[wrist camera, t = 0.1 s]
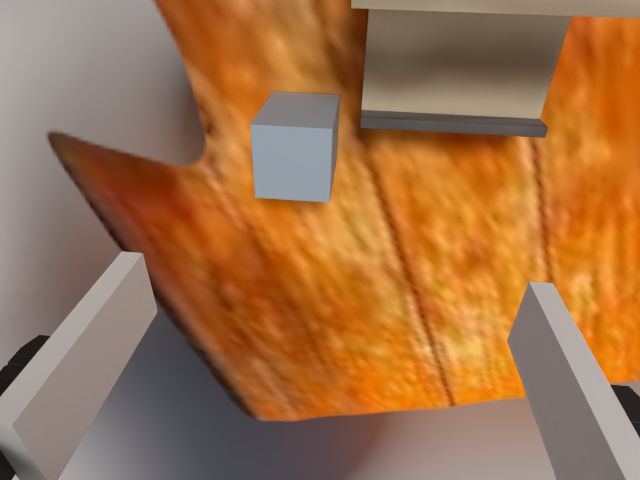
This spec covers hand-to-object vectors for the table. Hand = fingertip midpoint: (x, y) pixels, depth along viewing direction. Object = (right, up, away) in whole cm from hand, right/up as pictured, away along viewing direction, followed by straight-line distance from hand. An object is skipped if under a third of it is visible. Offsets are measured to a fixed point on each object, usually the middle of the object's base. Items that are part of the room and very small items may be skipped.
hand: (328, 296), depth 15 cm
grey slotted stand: (+11, +20, +19) cm, 29 cm away
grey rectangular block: (-2, +13, +25) cm, 28 cm away
